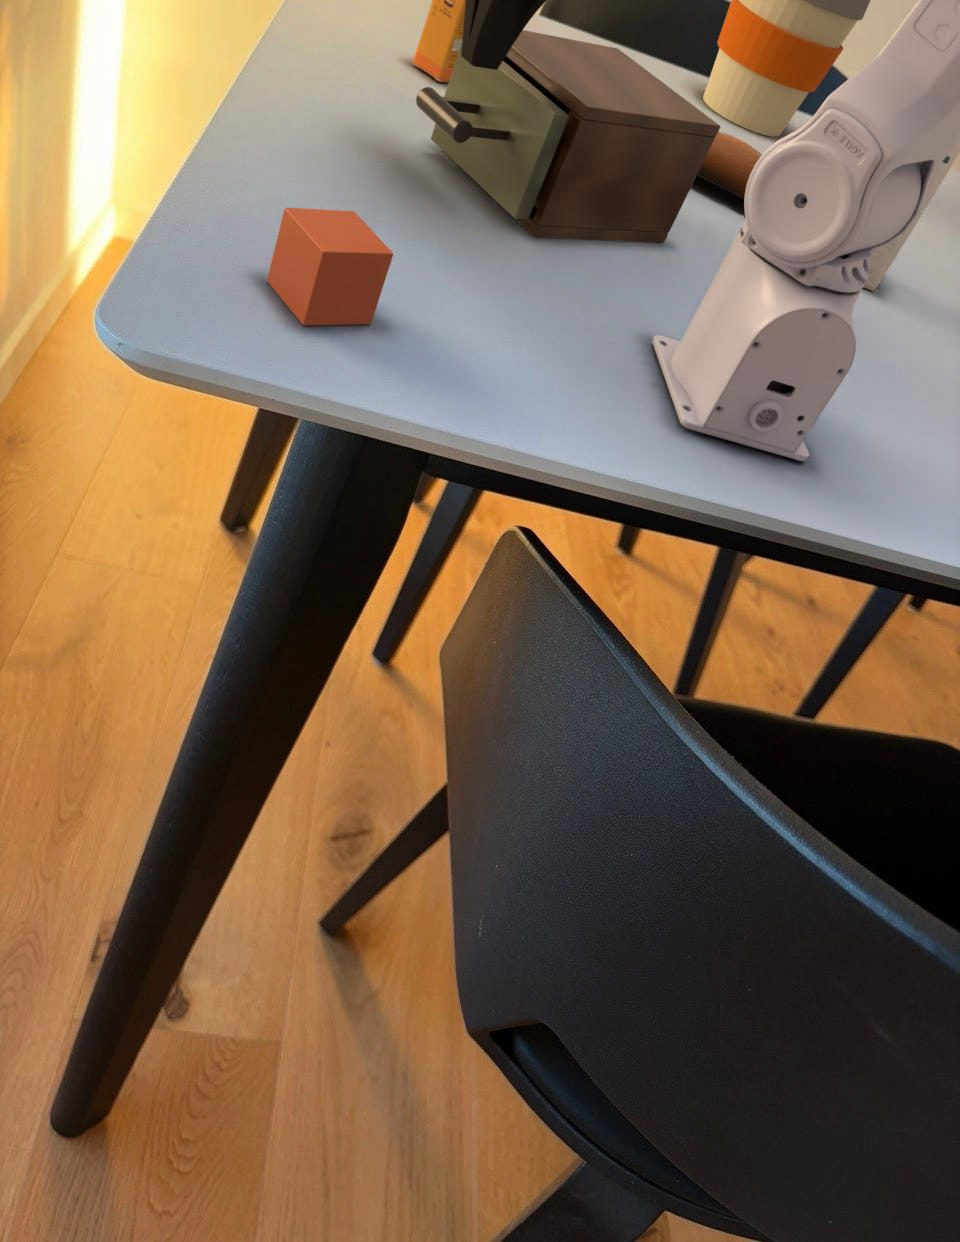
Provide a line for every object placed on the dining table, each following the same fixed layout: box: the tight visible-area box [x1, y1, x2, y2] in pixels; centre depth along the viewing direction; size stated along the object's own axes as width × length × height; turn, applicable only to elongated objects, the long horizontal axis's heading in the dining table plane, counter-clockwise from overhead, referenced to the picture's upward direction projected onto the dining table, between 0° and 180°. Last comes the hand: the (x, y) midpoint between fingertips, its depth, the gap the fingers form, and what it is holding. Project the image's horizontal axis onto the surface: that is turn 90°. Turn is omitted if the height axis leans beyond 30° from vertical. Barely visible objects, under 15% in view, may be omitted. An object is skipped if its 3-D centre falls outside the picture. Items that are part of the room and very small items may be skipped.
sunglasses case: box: [697, 131, 763, 200], centre depth 93 cm, size 18×7×7 cm
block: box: [266, 207, 394, 326], centre depth 55 cm, size 4×4×4 cm
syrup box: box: [863, 133, 960, 292], centre depth 86 cm, size 6×6×14 cm
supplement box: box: [412, 0, 466, 84], centre depth 86 cm, size 3×3×10 cm
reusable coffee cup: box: [702, 0, 871, 138], centre depth 110 cm, size 12×13×15 cm
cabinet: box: [506, 29, 721, 244], centre depth 76 cm, size 13×12×9 cm
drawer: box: [415, 43, 575, 220], centre depth 73 cm, size 16×10×7 cm, turn 125°
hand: (479, 63), depth 67 cm, fingers closed
